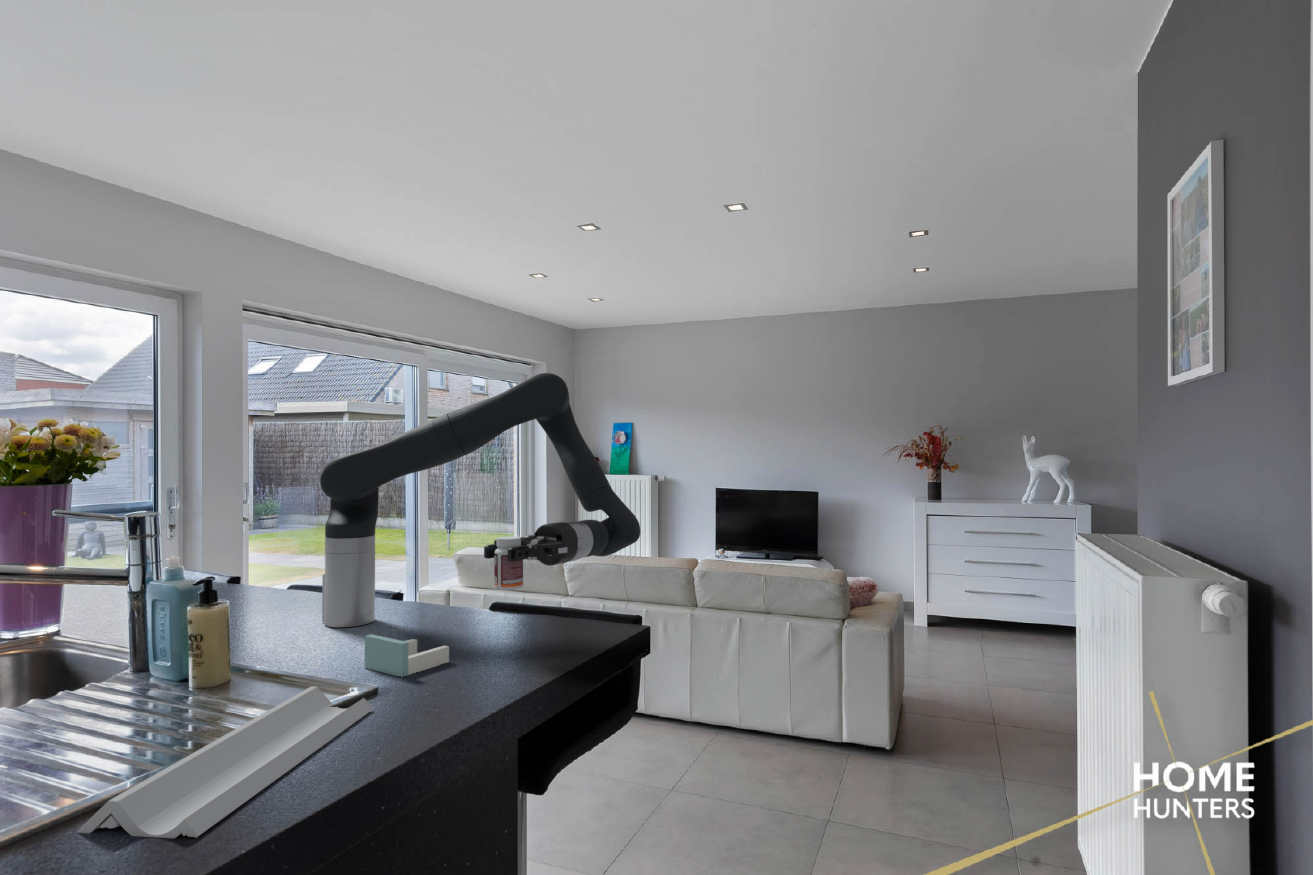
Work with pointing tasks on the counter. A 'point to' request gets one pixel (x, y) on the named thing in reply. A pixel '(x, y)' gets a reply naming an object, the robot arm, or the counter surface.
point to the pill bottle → (507, 565)
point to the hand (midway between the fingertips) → (497, 553)
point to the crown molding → (227, 770)
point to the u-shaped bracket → (401, 656)
